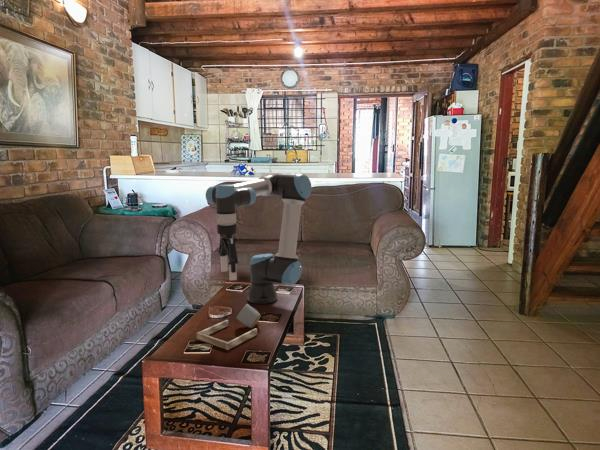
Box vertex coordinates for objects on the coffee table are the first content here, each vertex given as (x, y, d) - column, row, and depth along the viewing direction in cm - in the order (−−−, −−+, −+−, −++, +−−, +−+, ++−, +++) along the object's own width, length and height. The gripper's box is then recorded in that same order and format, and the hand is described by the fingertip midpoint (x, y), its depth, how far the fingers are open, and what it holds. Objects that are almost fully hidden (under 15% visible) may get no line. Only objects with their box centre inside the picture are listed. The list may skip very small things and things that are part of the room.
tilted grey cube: (249, 332, 175) (255, 322, 170) (234, 321, 176) (239, 311, 171) (262, 316, 183) (267, 306, 178) (247, 305, 184) (252, 295, 179)
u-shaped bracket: (226, 325, 179) (226, 319, 178) (257, 334, 169) (257, 328, 169) (196, 339, 165) (196, 333, 164) (227, 350, 155) (227, 343, 155)
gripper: (210, 220, 174) (212, 268, 178) (225, 229, 152) (227, 285, 155) (227, 218, 177) (229, 266, 181) (245, 228, 155) (246, 282, 158)
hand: (228, 275), depth 168 cm, fingers open, 13 cm apart
